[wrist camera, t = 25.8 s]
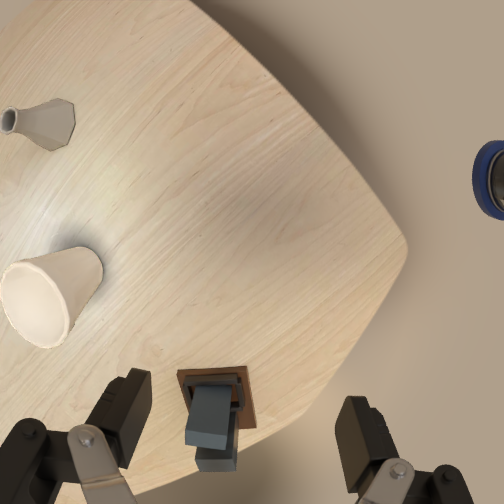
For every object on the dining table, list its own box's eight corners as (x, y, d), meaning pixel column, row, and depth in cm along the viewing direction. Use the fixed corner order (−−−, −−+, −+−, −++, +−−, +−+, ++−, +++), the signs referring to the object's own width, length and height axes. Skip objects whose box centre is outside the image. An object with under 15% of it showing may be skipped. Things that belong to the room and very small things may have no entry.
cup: (102, 314, 42) (58, 365, 29) (49, 277, 40) (-6, 315, 28) (128, 256, 39) (79, 297, 27) (68, 218, 38) (7, 243, 25)
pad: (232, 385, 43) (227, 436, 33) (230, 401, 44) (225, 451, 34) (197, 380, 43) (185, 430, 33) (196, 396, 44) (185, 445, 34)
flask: (80, 97, 34) (35, 85, 24) (72, 151, 36) (25, 153, 26) (39, 99, 33) (-7, 91, 24) (32, 150, 35) (-16, 153, 26)
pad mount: (246, 365, 43) (244, 421, 33) (256, 423, 47) (256, 477, 36) (178, 369, 44) (160, 423, 33) (195, 425, 47) (185, 477, 36)
